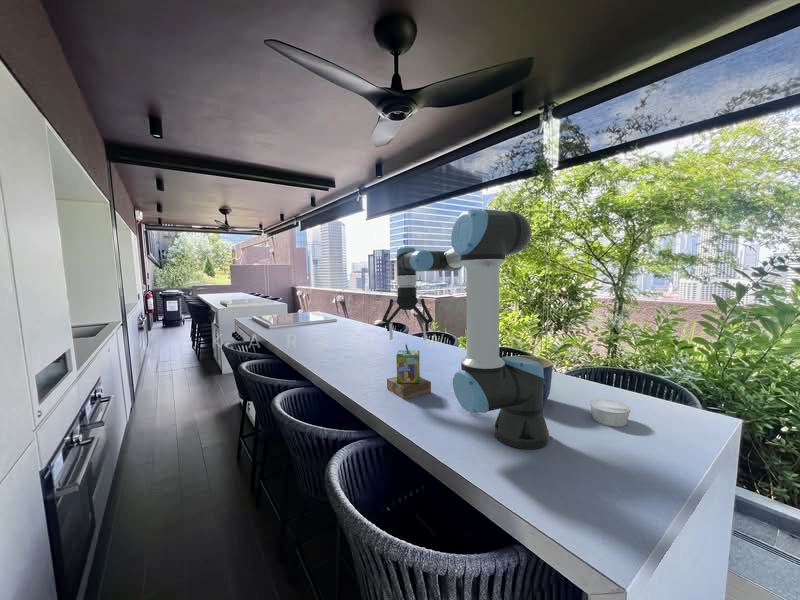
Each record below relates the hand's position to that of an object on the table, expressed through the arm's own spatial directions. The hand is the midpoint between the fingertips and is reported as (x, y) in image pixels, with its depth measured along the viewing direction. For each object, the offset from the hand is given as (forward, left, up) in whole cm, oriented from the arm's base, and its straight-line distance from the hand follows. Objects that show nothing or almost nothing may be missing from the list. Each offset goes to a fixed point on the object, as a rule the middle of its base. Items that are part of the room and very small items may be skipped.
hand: (407, 339), depth 138 cm
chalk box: (0, 0, -17) cm, 17 cm away
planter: (-37, -27, -22) cm, 50 cm away
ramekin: (-63, -32, -22) cm, 74 cm away
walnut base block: (0, 0, -22) cm, 22 cm away
